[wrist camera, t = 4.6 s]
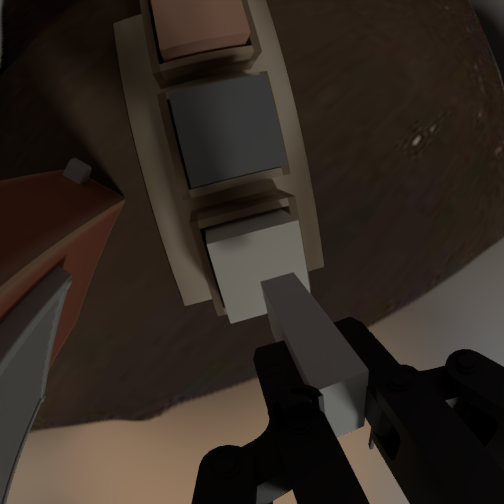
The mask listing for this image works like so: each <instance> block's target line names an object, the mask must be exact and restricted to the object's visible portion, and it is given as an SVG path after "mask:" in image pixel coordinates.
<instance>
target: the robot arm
mask: <svg viewBox="0 0 504 504" xmlns="http://www.w3.org/2000/svg"><path fill="white" fill-rule="evenodd" d="M260 283H261V287H262V291H263V296H264V300H265V304H266V308H267V313H268V317H269V321H270V325H271V330H272V333H273V335H274V338H275V340H276V343H273V344H269V345H266V346H262V347H259V348H256V351H255V354H254V358H253V361H254V364H255V368H256V371H257V375H258V378H259V381H260V385H261V388H262V391H263V395H264V399H265V402H266V405H267V409H268V415H269V424H268V426H267V428H266V430H265V431H264V432H263V433H262V435H261V436H259V437H258V438H257V439H255V440H254V441H252V442H250V443H248V444H246V445H245V446H243V447H239V446H233V445H225V446H219V447H217V448H215V449H213V450H211V451H209V452H208V453H207V454H206V455H205V456H204V457H203V459H202V461H201V463H200V465H199V470H198V475H197V480H196V484H195V489H194V494H193V499H192V504H273V501H274V500H275V499H277V498H279V497H280V496H282V495H284V494H286V493H287V492H289V491H290V490H292V489H293V492H294V495H295V498H296V501H297V504H370V503H369V502H368V499H367V497H366V495H365V494H364V491H363V490H362V487H361V485H360V483H359V482H358V479H357V477H356V476H355V473H354V471H353V469H352V468H351V465H350V464H349V461H348V459H347V458H346V455H345V453H344V451H343V449H342V447H341V445H340V443H339V441H338V440H337V437H339V436H341V435H344V434H346V433H349V432H351V431H354V430H356V429H358V428H360V427H363V426H364V422H365V418H366V419H367V421H368V423H369V424H370V425H371V433H370V439H369V448H370V449H373V446H374V443H375V445H376V447H377V448H378V450H379V452H380V453H381V455H382V457H383V459H384V460H385V462H386V464H387V465H388V467H389V469H390V470H391V472H392V474H393V476H394V477H395V479H396V481H397V482H398V484H399V486H400V487H401V489H402V491H403V493H404V495H405V496H406V498H407V500H408V501H409V503H410V504H504V367H503V366H501V365H500V364H498V363H496V362H494V361H492V360H490V359H489V358H487V357H485V356H483V355H481V354H480V353H478V352H475V351H473V350H470V349H461V350H458V351H455V352H453V353H452V354H451V355H449V357H448V359H447V360H446V364H445V366H442V367H438V368H434V369H430V370H425V371H418V370H416V369H415V368H414V367H412V366H408V365H400V364H399V363H398V362H397V361H396V360H395V359H394V357H393V356H392V355H391V354H390V353H389V352H388V351H387V350H386V349H385V347H384V346H383V345H382V344H381V343H380V342H379V341H378V340H377V339H376V338H375V336H374V335H373V334H372V333H371V332H369V330H368V329H367V327H366V326H365V325H364V324H363V323H362V322H360V321H358V320H356V319H354V318H352V317H348V318H345V319H342V320H340V321H337V322H334V323H333V322H332V321H331V320H330V318H329V317H328V316H327V315H326V313H325V312H324V311H323V309H322V308H321V307H320V305H319V304H318V303H317V302H316V300H315V299H314V298H313V296H312V295H311V294H310V293H309V291H308V290H307V289H306V287H305V286H304V285H303V284H302V282H301V281H300V280H299V279H298V277H297V276H296V275H295V273H294V272H292V273H289V274H285V275H282V276H278V277H275V278H271V279H268V280H264V281H261V282H260Z"/></svg>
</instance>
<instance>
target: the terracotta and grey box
mask: <svg viewBox="0 0 504 504" xmlns="http://www.w3.org/2000/svg"><path fill="white" fill-rule="evenodd" d="M91 170H92V169H91V167H90V166H89V165H87V164H85V163H84V162H82V161H80V160H78V159H76V158H73V159H71V160H70V161H69V163H68V165H67V167H66V169H63V170H56V171H50V172H43V173H38V174H32V175H27V176H21V177H16V178H11V179H7V180H2V181H0V504H6V501H7V497H8V494H9V490H10V486H11V483H12V480H13V476H14V473H15V470H16V467H17V464H18V461H19V458H20V455H21V452H22V449H23V447H24V444H25V442H26V439H27V436H28V434H29V431H30V429H31V426H32V424H33V421H34V419H35V417H36V414H37V412H38V410H39V407H40V405H41V403H42V401H44V400H45V387H46V381H47V375H48V371H49V369H50V367H51V365H52V363H53V361H54V360H55V358H56V356H57V354H58V352H59V351H60V349H61V347H62V345H63V344H64V342H65V340H66V338H67V337H68V335H69V333H70V332H71V330H72V328H73V327H74V325H75V323H76V322H77V319H78V316H79V313H80V310H81V307H82V304H83V301H84V298H85V295H86V292H87V289H88V287H89V284H90V281H91V279H92V276H93V273H94V271H95V268H96V266H97V263H98V260H99V258H100V256H101V253H102V251H103V248H104V246H105V244H106V241H107V239H108V237H109V234H110V232H111V230H112V228H113V225H114V223H115V221H116V219H117V217H118V215H119V213H120V210H121V208H122V206H123V204H124V202H125V198H124V197H123V196H121V195H120V194H118V193H116V192H114V191H113V190H111V189H109V188H107V187H105V186H104V185H102V184H100V183H98V182H96V181H95V180H93V179H91V178H89V175H90V173H91Z"/></svg>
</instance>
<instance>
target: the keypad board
mask: <svg viewBox="0 0 504 504" xmlns="http://www.w3.org/2000/svg"><path fill="white" fill-rule="evenodd" d="M139 1H140V8H141V14H140V15H136V16H133V17H130V18H127V19H124V20H121V21H119V22H116V23H113V26H114V34H115V41H116V48H117V55H118V61H119V67H120V73H121V79H122V84H123V90H124V95H125V100H126V105H127V110H128V114H129V119H130V124H131V128H132V132H133V137H134V141H135V145H136V149H137V153H138V157H139V161H140V165H141V169H142V173H143V177H144V180H145V184H146V188H147V191H148V195H149V198H150V202H151V205H152V209H153V212H154V215H155V219H156V222H157V225H158V228H159V232H160V235H161V238H162V241H163V244H164V247H165V250H166V253H167V256H168V259H169V262H170V265H171V268H172V271H173V274H174V277H175V279H176V282H177V285H178V288H179V291H180V293H181V296H182V299H183V301H184V304H185V306H187V305H191V304H194V303H198V302H202V301H206V300H209V299H212V300H213V303H214V306H215V309H216V312H217V315H218V316H222V315H225V314H227V310H226V307H225V304H224V301H223V298H222V294H221V291H220V288H219V284H218V281H217V278H216V274H215V271H214V268H213V264H212V261H211V258H210V254H209V251H208V247H207V242H206V231H205V227H208V226H212V225H216V224H219V223H223V222H227V221H231V220H234V219H238V218H242V217H246V216H250V215H254V214H257V213H261V212H265V211H269V210H273V209H277V208H281V209H282V210H284V211H285V212H287V213H288V214H290V215H292V216H293V217H295V218H296V219H298V220H299V226H300V232H301V237H302V243H303V249H304V255H305V261H306V268H307V274H308V271H311V270H314V269H318V268H321V267H324V262H323V255H322V247H321V240H320V233H319V227H318V220H317V214H316V208H315V202H314V196H313V190H312V185H311V179H310V174H309V169H308V163H307V158H306V153H305V148H304V143H303V139H302V134H301V129H300V125H299V120H298V116H297V111H296V107H295V103H294V99H293V95H292V91H291V86H290V82H289V79H288V75H287V71H286V67H285V63H284V60H283V56H282V52H281V49H280V45H279V42H278V38H277V35H276V31H275V28H274V25H273V22H272V18H271V15H270V12H269V9H268V6H267V3H266V0H241V1H242V4H243V8H244V11H245V14H246V18H247V21H248V25H249V28H250V32H251V33H250V35H249V37H248V39H247V41H246V44H245V46H244V47H237V48H230V49H224V50H219V51H213V52H208V53H203V54H199V55H194V56H190V57H186V58H181V59H177V60H174V61H170V62H166V63H165V62H164V59H163V57H162V54H161V51H160V47H159V42H158V36H157V31H156V26H155V20H154V15H153V9H152V3H151V0H139ZM266 73H267V76H268V80H269V84H270V88H271V92H272V96H273V101H274V105H275V109H276V113H277V118H278V122H279V126H280V131H281V135H282V140H283V144H284V149H285V154H286V158H287V163H288V165H285V166H280V167H276V168H271V169H267V170H262V171H258V172H253V173H249V174H245V175H241V176H237V177H233V178H229V179H225V180H221V181H217V182H213V183H209V184H205V185H202V186H198V187H194V188H191V185H190V181H189V178H188V174H187V170H186V166H185V162H184V158H183V154H182V150H181V146H180V142H179V138H178V133H177V129H176V125H175V121H174V116H173V112H172V108H171V103H170V99H169V93H173V92H176V91H180V90H184V89H188V88H192V87H196V86H200V85H205V84H209V83H214V82H219V81H224V80H229V79H234V78H240V77H246V76H252V75H259V74H266ZM308 281H309V274H308ZM309 287H310V281H309ZM310 290H311V288H310Z"/></svg>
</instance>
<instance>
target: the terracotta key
mask: <svg viewBox="0 0 504 504" xmlns="http://www.w3.org/2000/svg"><path fill="white" fill-rule="evenodd" d="M151 3H152V9H153V15H154V20H155V26H156V31H157V36H158V42H159V47H160V51H161V54H162V57H163V59H164V62H165V63H166V62H170V61H174V60H177V59H181V58H186V57H190V56H194V55H199V54H203V53H208V52H213V51H219V50H224V49H230V48H237V47H244V46H245V44H246V41H247V39H248V37H249V35H250V33H251V32H250V28H249V25H248V21H247V18H246V14H245V11H244V8H243V4H242V1H241V0H151Z"/></svg>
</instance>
